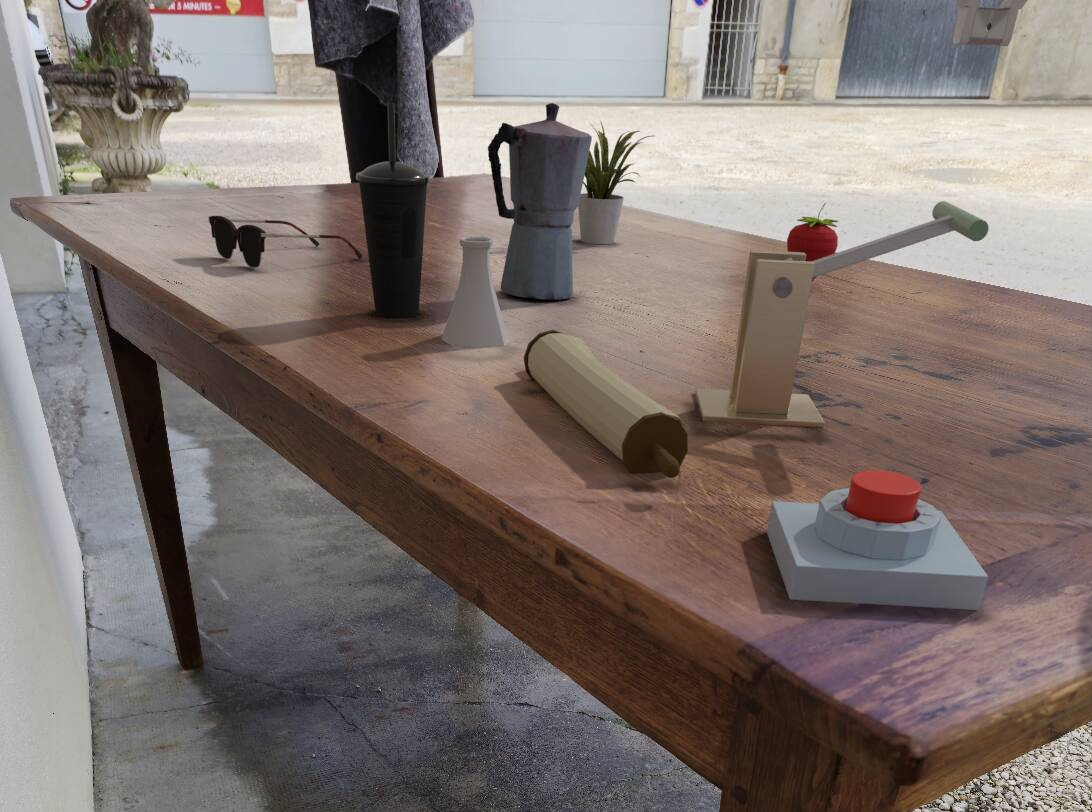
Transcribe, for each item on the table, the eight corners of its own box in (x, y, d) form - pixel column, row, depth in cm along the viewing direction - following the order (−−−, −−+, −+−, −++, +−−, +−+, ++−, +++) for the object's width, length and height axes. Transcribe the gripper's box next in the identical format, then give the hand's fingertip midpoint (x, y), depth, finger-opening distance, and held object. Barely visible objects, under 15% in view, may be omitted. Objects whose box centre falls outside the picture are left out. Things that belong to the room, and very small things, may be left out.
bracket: (805, 407, 93) (835, 251, 85) (822, 436, 86) (855, 269, 79) (693, 401, 93) (713, 244, 86) (701, 430, 86) (723, 262, 79)
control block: (932, 541, 69) (948, 483, 67) (978, 610, 61) (998, 547, 58) (766, 532, 69) (776, 474, 67) (789, 600, 61) (802, 536, 59)
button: (903, 504, 64) (911, 472, 63) (920, 529, 61) (929, 496, 60) (839, 500, 65) (846, 468, 63) (852, 525, 61) (859, 492, 60)
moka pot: (606, 294, 129) (620, 105, 118) (520, 311, 120) (526, 107, 108) (550, 281, 134) (558, 99, 123) (463, 296, 125) (463, 101, 113)
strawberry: (806, 280, 142) (821, 198, 136) (839, 292, 136) (856, 206, 130) (769, 282, 140) (783, 198, 134) (801, 293, 134) (816, 207, 128)
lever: (951, 223, 85) (948, 191, 84) (990, 244, 77) (987, 209, 75) (755, 289, 88) (749, 260, 87) (772, 316, 80) (766, 284, 79)
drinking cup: (438, 308, 119) (436, 103, 108) (421, 323, 113) (417, 107, 102) (374, 303, 120) (365, 99, 109) (353, 317, 114) (342, 103, 102)
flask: (443, 356, 102) (442, 245, 96) (436, 338, 108) (435, 231, 102) (515, 356, 103) (519, 246, 98) (505, 338, 109) (508, 233, 103)
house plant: (657, 238, 166) (669, 118, 156) (645, 252, 154) (657, 124, 145) (569, 231, 168) (576, 113, 159) (551, 244, 157) (557, 118, 147)
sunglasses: (210, 254, 140) (207, 213, 137) (313, 252, 150) (312, 213, 147) (263, 272, 132) (261, 228, 129) (368, 268, 142) (368, 227, 139)
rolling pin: (511, 376, 97) (512, 320, 94) (568, 374, 99) (571, 318, 96) (634, 505, 72) (641, 433, 69) (708, 499, 74) (718, 429, 71)
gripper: (868, -303, 51) (813, 37, 59) (1286, -285, 51) (1175, 54, 59) (843, -272, 57) (796, 36, 64) (1223, -256, 56) (1128, 52, 64)
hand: (980, 45), depth 62 cm, fingers closed
